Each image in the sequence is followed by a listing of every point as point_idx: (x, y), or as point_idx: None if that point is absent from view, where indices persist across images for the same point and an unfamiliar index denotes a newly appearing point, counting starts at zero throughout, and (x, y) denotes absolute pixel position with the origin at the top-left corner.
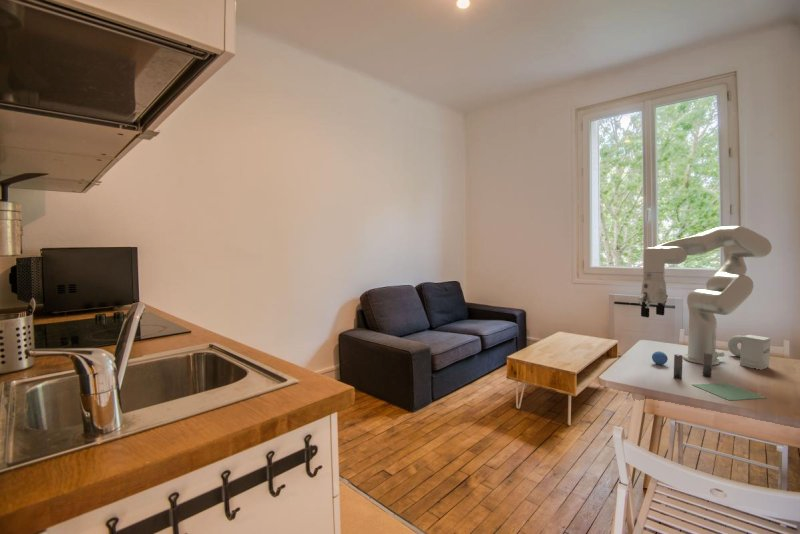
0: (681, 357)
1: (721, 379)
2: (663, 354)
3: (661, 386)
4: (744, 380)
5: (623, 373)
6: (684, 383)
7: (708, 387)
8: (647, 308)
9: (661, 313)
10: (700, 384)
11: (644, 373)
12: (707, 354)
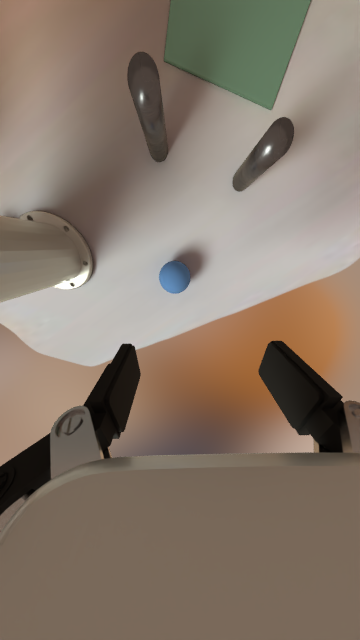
0: (284, 121)
1: None
2: (176, 268)
3: (344, 150)
4: (78, 46)
5: (300, 264)
6: None
7: (262, 50)
8: (333, 399)
9: (132, 358)
10: (251, 93)
11: (265, 245)
12: (153, 73)
